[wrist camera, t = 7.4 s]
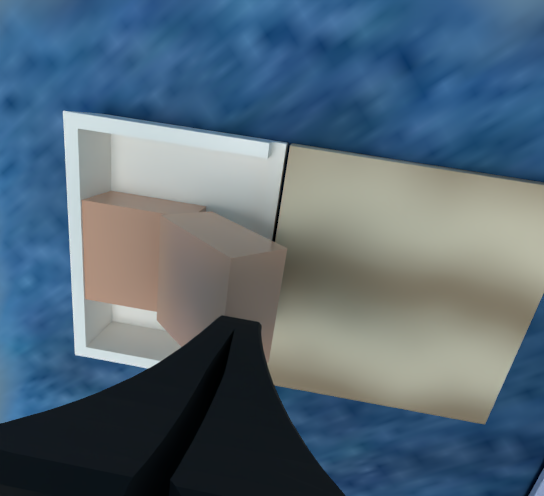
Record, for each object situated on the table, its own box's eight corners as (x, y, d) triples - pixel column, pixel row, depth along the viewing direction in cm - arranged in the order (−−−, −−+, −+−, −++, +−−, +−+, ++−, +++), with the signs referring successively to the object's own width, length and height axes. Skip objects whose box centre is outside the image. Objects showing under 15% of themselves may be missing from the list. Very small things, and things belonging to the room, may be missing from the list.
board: (464, 390, 20) (484, 424, 18) (259, 352, 21) (253, 381, 18) (548, 183, 16) (588, 192, 14) (292, 143, 17) (289, 145, 14)
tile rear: (199, 294, 20) (184, 316, 17) (111, 278, 20) (85, 299, 17) (206, 206, 18) (191, 217, 15) (111, 190, 18) (81, 200, 16)
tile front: (268, 362, 14) (217, 385, 13) (203, 307, 18) (156, 320, 16) (287, 248, 13) (231, 258, 11) (211, 211, 16) (160, 214, 14)
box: (256, 351, 21) (248, 387, 18) (106, 324, 21) (75, 354, 18) (288, 142, 17) (284, 145, 14) (103, 113, 17) (63, 110, 14)
